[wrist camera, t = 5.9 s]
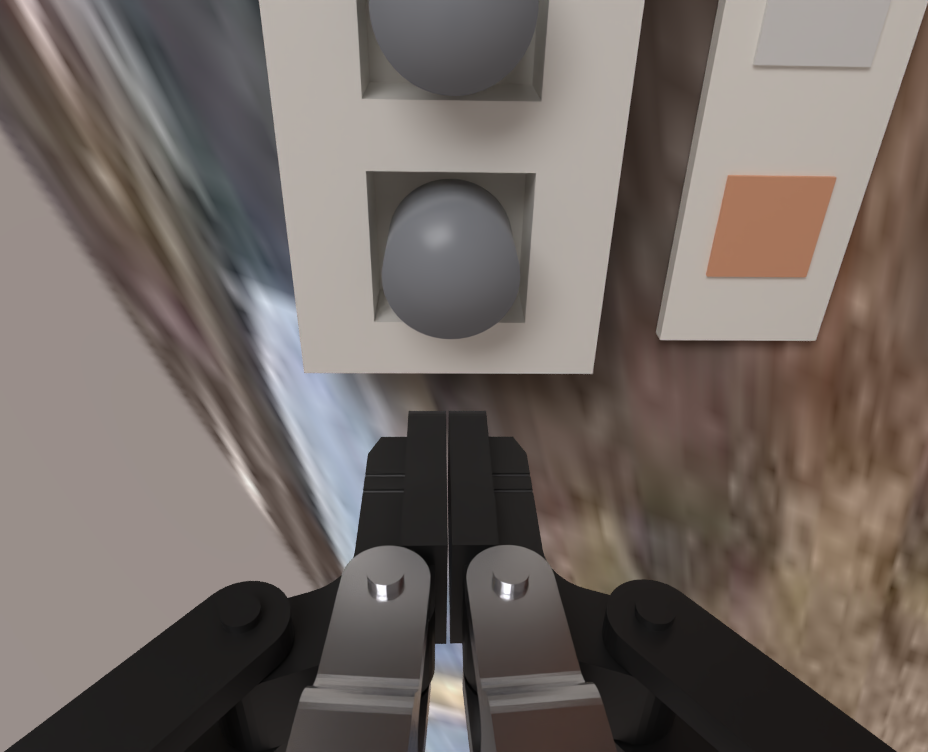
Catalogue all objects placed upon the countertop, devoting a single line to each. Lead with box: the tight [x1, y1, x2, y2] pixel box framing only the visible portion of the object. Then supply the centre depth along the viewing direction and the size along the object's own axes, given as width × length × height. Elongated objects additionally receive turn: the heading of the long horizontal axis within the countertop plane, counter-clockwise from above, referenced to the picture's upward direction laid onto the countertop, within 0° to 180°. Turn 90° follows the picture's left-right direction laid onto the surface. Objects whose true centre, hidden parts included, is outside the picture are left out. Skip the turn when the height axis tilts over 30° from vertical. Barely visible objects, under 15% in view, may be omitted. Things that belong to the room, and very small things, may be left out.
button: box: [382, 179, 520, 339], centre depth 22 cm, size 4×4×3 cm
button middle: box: [369, 0, 539, 96], centre depth 18 cm, size 4×4×3 cm
